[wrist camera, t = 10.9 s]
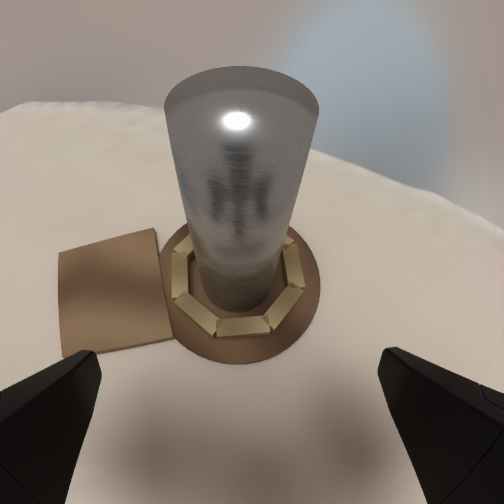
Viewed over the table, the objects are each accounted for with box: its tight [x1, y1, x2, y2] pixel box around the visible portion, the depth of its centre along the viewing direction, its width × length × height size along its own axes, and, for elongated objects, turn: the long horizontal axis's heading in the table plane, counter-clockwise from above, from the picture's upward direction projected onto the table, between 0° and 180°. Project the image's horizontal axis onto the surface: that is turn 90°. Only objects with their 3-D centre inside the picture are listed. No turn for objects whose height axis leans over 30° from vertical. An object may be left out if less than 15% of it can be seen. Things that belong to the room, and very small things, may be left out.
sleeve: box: [164, 66, 319, 313], centre depth 13 cm, size 4×4×13 cm
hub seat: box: [158, 223, 320, 364], centre depth 19 cm, size 11×11×2 cm
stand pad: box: [58, 228, 175, 358], centre depth 18 cm, size 8×8×1 cm
